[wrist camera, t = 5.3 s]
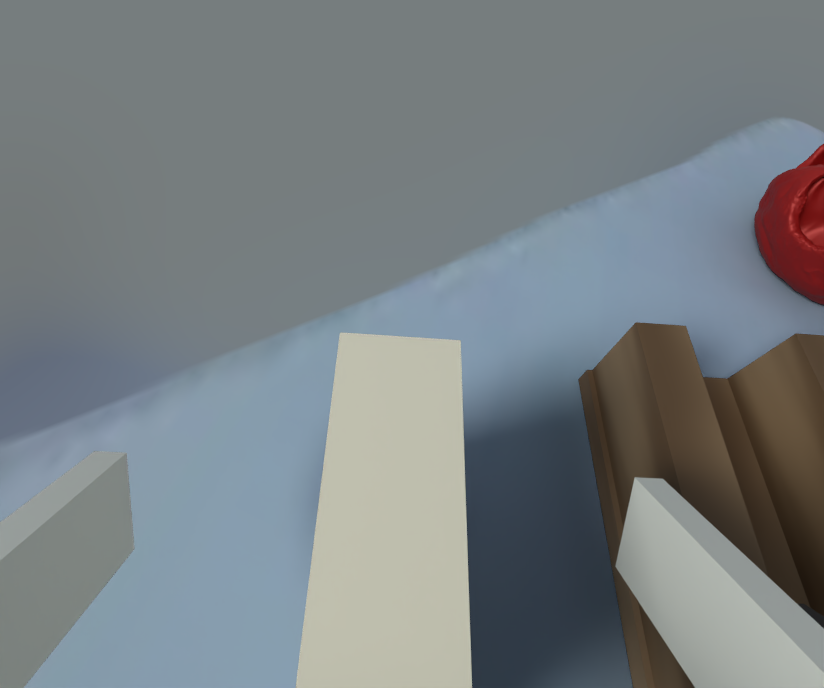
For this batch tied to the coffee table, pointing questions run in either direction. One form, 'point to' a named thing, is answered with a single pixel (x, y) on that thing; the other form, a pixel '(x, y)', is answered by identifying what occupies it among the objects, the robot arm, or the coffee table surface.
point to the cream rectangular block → (391, 523)
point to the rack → (712, 462)
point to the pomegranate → (795, 227)
